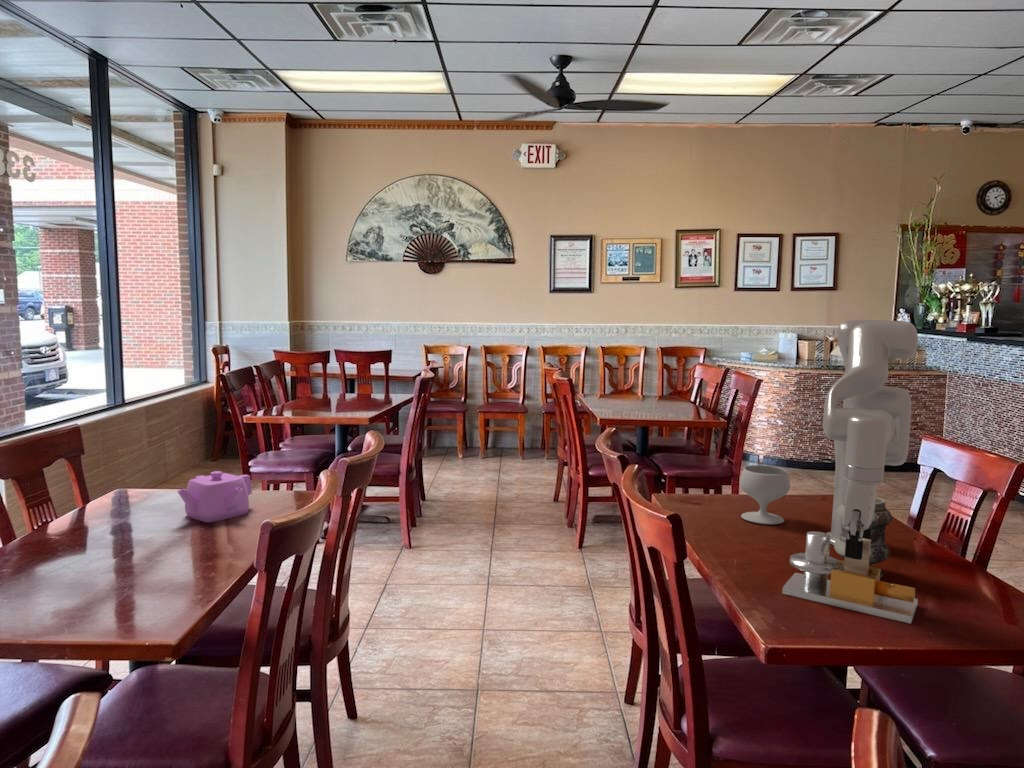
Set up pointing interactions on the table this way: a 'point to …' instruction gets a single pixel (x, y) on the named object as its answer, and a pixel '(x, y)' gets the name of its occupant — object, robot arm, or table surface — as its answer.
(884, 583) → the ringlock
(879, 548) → the apothecary jar
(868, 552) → the cream rectangular block
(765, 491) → the chalice
